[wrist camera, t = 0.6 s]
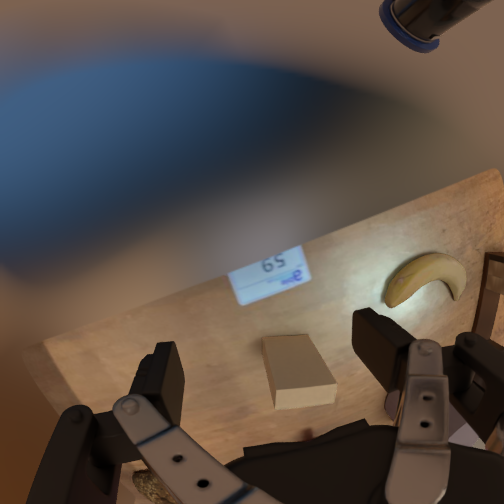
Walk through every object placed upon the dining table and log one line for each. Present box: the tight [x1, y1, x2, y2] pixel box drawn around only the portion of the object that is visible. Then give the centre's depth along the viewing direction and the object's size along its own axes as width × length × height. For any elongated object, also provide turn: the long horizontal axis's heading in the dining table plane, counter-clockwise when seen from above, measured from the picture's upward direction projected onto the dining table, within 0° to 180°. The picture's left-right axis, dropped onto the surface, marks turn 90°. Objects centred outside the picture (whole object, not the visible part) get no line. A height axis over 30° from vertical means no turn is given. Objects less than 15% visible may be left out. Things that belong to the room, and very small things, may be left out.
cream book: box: [262, 335, 338, 410], centre depth 28 cm, size 2×6×11 cm, turn 90°
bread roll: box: [132, 471, 177, 504], centre depth 34 cm, size 13×12×5 cm
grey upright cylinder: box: [385, 390, 479, 447], centre depth 29 cm, size 10×10×15 cm
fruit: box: [385, 253, 467, 308], centre depth 32 cm, size 7×15×3 cm, turn 87°
